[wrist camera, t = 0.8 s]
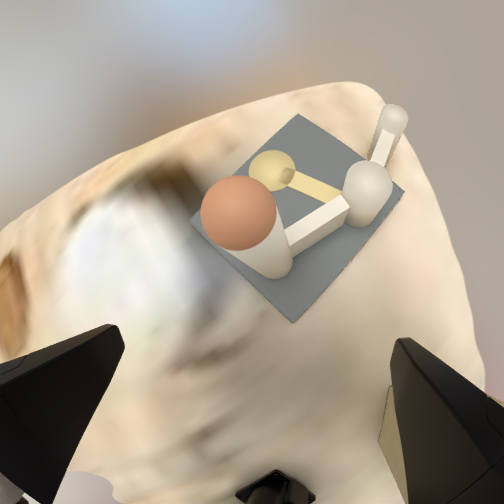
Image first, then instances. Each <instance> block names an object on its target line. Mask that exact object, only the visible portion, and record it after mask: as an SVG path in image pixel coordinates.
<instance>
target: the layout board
mask: <svg viewBox="0 0 504 504" xmlns="http://www.w3.org/2000/svg"><path fill="white" fill-rule="evenodd" d="M363 160H366V159H364V158H363V157H362V156H360V155H359V154H358V153H356V152H355V151H353V150H352V149H351V148H349V147H348V146H346V145H345V144H344V143H342V142H341V141H339V140H338V139H336V138H335V137H334V136H332V135H331V134H329V133H328V132H326V131H325V130H323V129H322V128H320V127H319V126H317V125H315V124H314V123H312V122H311V121H309V120H307V119H306V118H304V117H303V116H301V115H299V114H297V115H296V116H295V117H293V118H292V119H291V120H290V121H289V122H288V123H287V124H286V125H285V126H283V127H282V128H281V129H280V130H279V131H278V132H277V133H276V134H275V135H274V136H273V137H272V138H270V139H269V140H268V141H267V142H266V143H265V144H264V145H263V146H262V147H261V148H260V149H259V150H258V151H257V152H256V153H255V154H254V155H253V156H252V157H251V158H250V159H249V160H247V161H246V162H245V163H244V164H243V165H242V166H241V167H240V168H239V169H238V170H237V171H236V172H235V173H234V174H233V175H232V176H237V175H241V176H248V177H251V178H254V179H256V180H258V181H260V182H261V183H262V184H263V185H265V186H266V187H267V188H268V190H269V191H270V192H271V194H272V196H273V198H274V200H275V203H276V206H277V209H278V212H279V215H280V218H281V221H282V224H283V227H284V230H285V229H286V228H288V227H290V226H291V225H293V224H294V223H296V222H297V221H299V220H301V219H302V218H304V217H305V216H307V215H308V214H310V213H312V212H313V211H315V210H316V209H318V208H320V207H321V206H323V205H324V204H326V203H327V202H329V201H331V200H332V199H334V198H335V197H337V196H339V195H340V194H341V193H342V190H343V186H344V182H345V179H346V175H347V172H348V170H349V168H350V167H351V166H352V165H353V164H354V163H356V162H359V161H363ZM392 183H393V189H392V193H391V195H390V197H389V198H388V200H387V201H386V203H385V204H384V205H383V207H382V208H381V210H380V211H379V212H378V214H377V215H376V217H375V218H374V219H373V221H372V222H371V223H370V224H369V225H367V226H365V227H362V228H354V227H351V226H349V225H347V224H346V223H345V222H344V223H343V226H341V227H340V228H338V229H337V230H335V231H333V232H332V233H330V234H329V235H327V236H326V237H324V238H323V239H321V240H320V241H318V242H317V243H315V244H313V245H312V246H310V247H309V248H307V249H306V250H304V251H303V252H301V253H299V254H298V255H296V256H295V257H293V265H292V268H291V270H290V272H289V273H288V274H287V275H286V276H284V277H283V278H280V279H269V278H267V277H265V276H263V275H262V274H260V273H259V272H257V271H256V270H254V269H253V268H251V267H250V266H248V265H247V264H245V263H244V262H242V261H241V260H239V259H238V258H236V257H235V256H233V255H232V254H230V253H229V252H227V251H225V250H224V249H222V248H221V247H219V246H218V245H216V244H215V243H214V242H213V241H212V240H211V239H210V238H209V237H208V235H207V234H206V232H205V230H204V228H203V226H202V222H201V213H200V212H201V209H200V210H199V211H198V212H197V213H196V214H195V215H194V216H193V217H192V218H191V219H190V220H189V222H190V223H191V224H192V225H193V226H194V227H195V228H196V229H197V231H198V232H199V233H200V234H201V235H202V236H203V237H204V238H205V239H206V240H207V241H208V242H209V243H210V244H211V245H212V246H213V247H214V248H215V249H216V250H217V251H218V252H219V253H220V254H221V255H222V256H223V257H224V258H226V259H227V260H228V261H229V262H230V263H231V264H232V265H233V266H234V267H235V268H236V269H237V270H238V271H239V272H240V273H241V274H242V275H243V276H244V277H245V278H246V279H247V280H248V281H249V282H250V283H251V284H252V285H253V286H254V287H255V288H256V289H257V290H258V291H259V292H260V293H261V294H262V295H263V296H264V297H265V298H266V299H267V300H268V301H270V302H271V303H272V304H273V305H274V306H275V307H276V308H277V309H278V310H279V311H280V312H281V313H282V314H283V315H284V316H285V317H286V318H287V319H288V320H289V321H290V322H291V323H294V322H295V321H296V320H297V319H298V318H299V317H300V316H301V315H302V314H303V312H304V311H305V310H306V309H307V308H308V307H309V306H310V305H311V304H312V303H313V302H314V301H315V300H316V299H317V298H318V296H319V295H320V294H321V293H322V292H323V291H324V290H325V289H326V288H327V287H328V285H329V284H330V283H331V282H332V281H333V280H334V279H335V278H336V276H337V275H338V274H339V273H340V272H341V271H342V270H343V268H344V267H345V266H346V265H347V264H348V263H349V262H350V260H351V259H352V258H353V257H354V256H355V254H356V253H357V252H358V251H359V250H360V249H361V247H362V246H363V245H364V244H365V242H366V241H367V240H368V239H369V238H370V236H371V235H372V234H373V233H374V231H375V230H376V229H377V228H378V226H379V225H380V224H381V223H382V221H383V220H384V219H385V217H386V216H387V215H388V214H389V212H390V211H391V210H392V208H393V207H394V206H395V204H396V203H397V202H398V200H399V199H400V198H401V196H402V195H403V194H404V192H405V191H404V190H402V189H401V188H400V187H399V186H398V185H397V184H395V183H394V182H393V181H392Z"/></svg>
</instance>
